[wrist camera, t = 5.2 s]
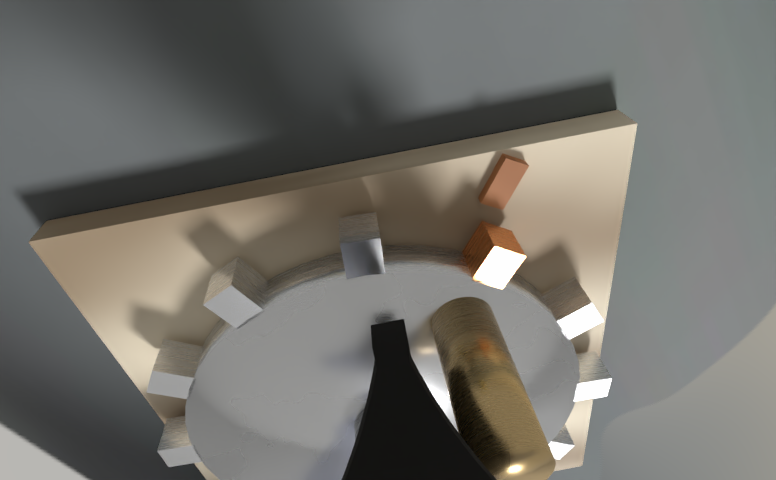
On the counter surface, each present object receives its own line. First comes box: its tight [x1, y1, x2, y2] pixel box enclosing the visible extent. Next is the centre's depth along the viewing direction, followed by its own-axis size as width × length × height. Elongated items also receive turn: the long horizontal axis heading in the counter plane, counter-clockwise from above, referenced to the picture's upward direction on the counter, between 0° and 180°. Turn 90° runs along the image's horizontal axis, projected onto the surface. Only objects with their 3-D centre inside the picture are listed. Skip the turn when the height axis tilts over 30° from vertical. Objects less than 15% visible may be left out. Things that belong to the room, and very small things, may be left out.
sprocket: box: [146, 212, 612, 480], centre depth 15 cm, size 15×15×6 cm
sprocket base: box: [29, 110, 637, 480], centre depth 18 cm, size 17×16×1 cm
